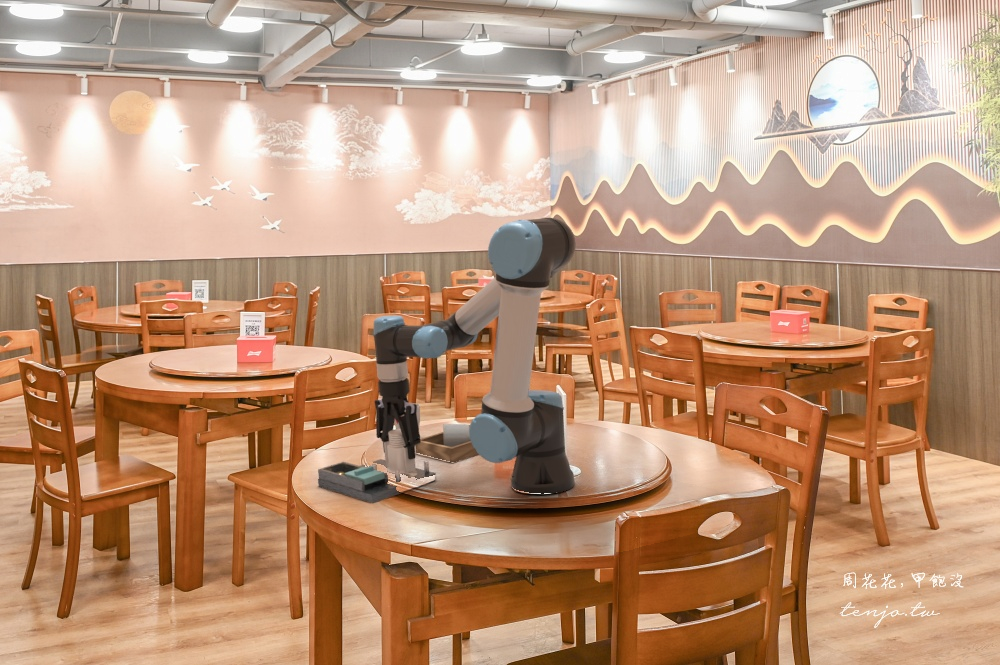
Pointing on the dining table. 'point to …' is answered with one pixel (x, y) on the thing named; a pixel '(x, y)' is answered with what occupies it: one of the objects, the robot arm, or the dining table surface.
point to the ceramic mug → (455, 434)
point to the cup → (416, 414)
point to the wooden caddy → (444, 449)
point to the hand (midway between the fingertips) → (400, 468)
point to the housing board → (356, 488)
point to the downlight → (396, 451)
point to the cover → (366, 474)
